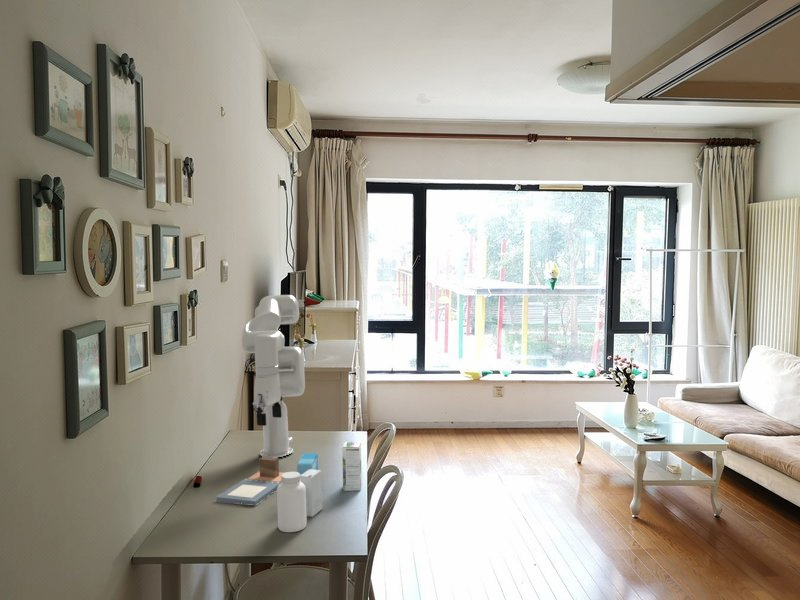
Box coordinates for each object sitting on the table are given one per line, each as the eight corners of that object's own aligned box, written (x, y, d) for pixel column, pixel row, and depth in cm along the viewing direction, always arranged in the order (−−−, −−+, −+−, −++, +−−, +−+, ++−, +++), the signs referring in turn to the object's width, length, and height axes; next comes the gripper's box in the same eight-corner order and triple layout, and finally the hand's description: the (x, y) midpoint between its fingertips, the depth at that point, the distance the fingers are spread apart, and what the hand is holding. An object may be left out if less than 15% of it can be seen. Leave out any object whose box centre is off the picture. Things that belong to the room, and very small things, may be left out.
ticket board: (244, 483, 204) (244, 478, 204) (281, 486, 200) (281, 482, 200) (216, 501, 189) (216, 496, 189) (255, 506, 185) (255, 501, 185)
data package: (313, 502, 186) (311, 464, 185) (298, 502, 186) (296, 464, 186) (319, 487, 198) (317, 451, 197) (305, 487, 198) (303, 452, 197)
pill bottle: (308, 530, 167) (306, 477, 166) (279, 535, 165) (276, 481, 164) (305, 518, 174) (302, 468, 173) (276, 523, 172) (274, 471, 171)
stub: (260, 474, 212) (259, 453, 211) (291, 477, 208) (290, 456, 207) (247, 482, 204) (246, 461, 204) (279, 486, 200) (278, 464, 200)
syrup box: (344, 484, 200) (342, 441, 199) (362, 484, 200) (360, 441, 199) (343, 491, 194) (341, 447, 193) (361, 490, 194) (359, 446, 193)
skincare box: (310, 507, 182) (308, 468, 182) (323, 509, 181) (322, 469, 180) (299, 515, 177) (298, 475, 176) (313, 517, 175) (311, 476, 174)
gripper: (270, 365, 212) (273, 413, 213) (242, 375, 195) (245, 427, 197) (290, 366, 209) (292, 415, 211) (263, 376, 193) (265, 429, 194)
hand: (269, 421), depth 204 cm, fingers open, 9 cm apart
